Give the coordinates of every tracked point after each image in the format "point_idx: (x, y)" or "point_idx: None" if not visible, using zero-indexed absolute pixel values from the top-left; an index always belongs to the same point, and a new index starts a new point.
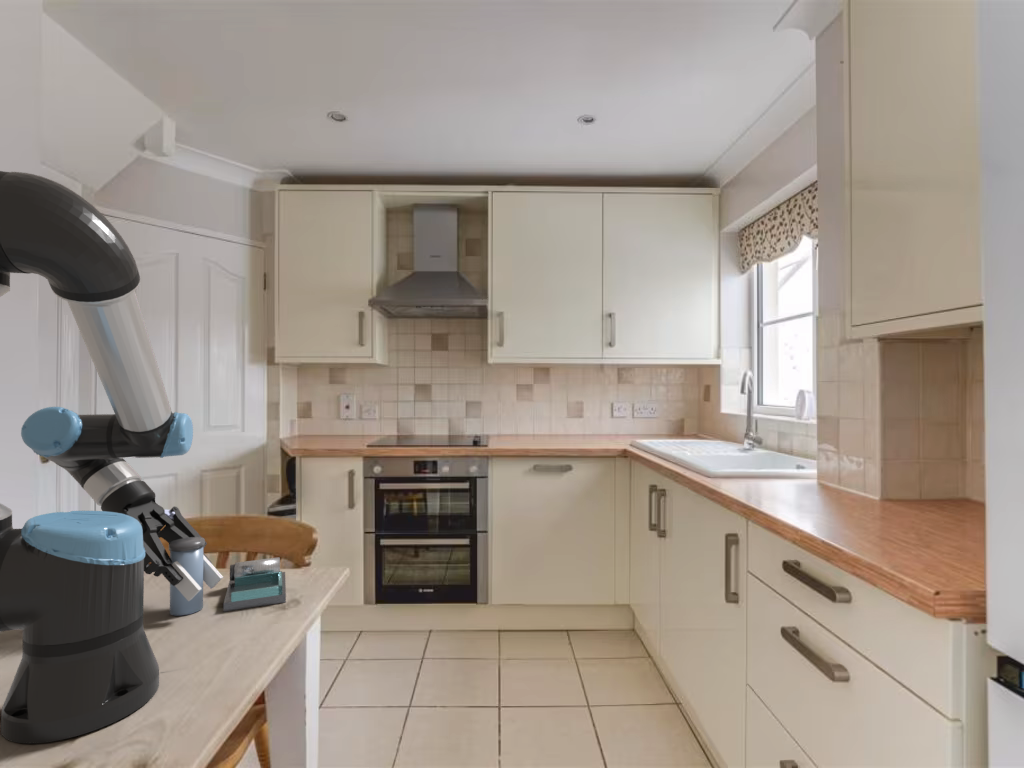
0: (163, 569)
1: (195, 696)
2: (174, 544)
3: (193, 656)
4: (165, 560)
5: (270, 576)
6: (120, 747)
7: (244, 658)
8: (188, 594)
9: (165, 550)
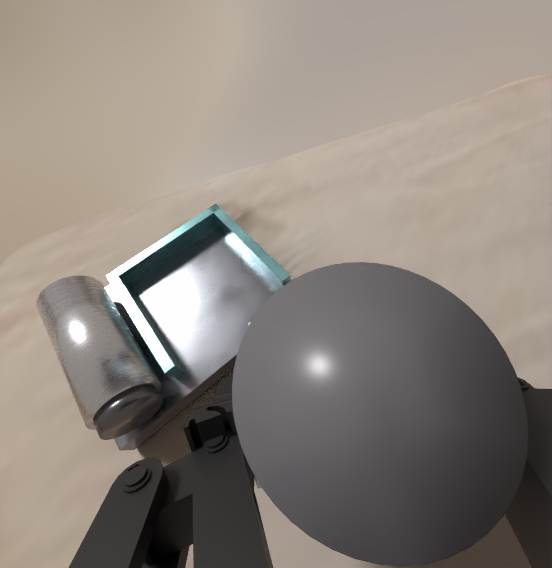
0: None
1: (536, 128)
2: (493, 398)
3: (473, 210)
4: (529, 391)
5: (131, 294)
6: None
7: (428, 147)
8: None
9: (533, 463)
